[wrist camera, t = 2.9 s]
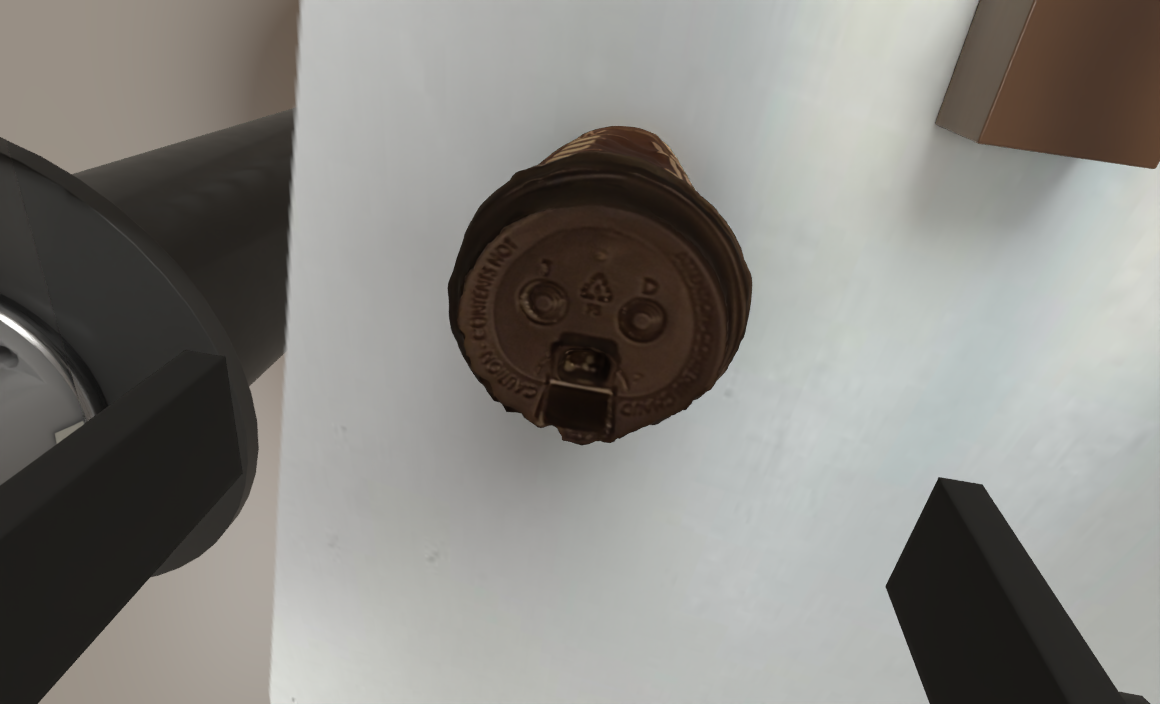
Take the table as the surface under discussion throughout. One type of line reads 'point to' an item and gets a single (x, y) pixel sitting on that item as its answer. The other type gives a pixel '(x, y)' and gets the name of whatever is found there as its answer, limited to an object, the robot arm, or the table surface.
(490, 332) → the coffee cup
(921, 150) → the table surface
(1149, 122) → the brown rectangular block
